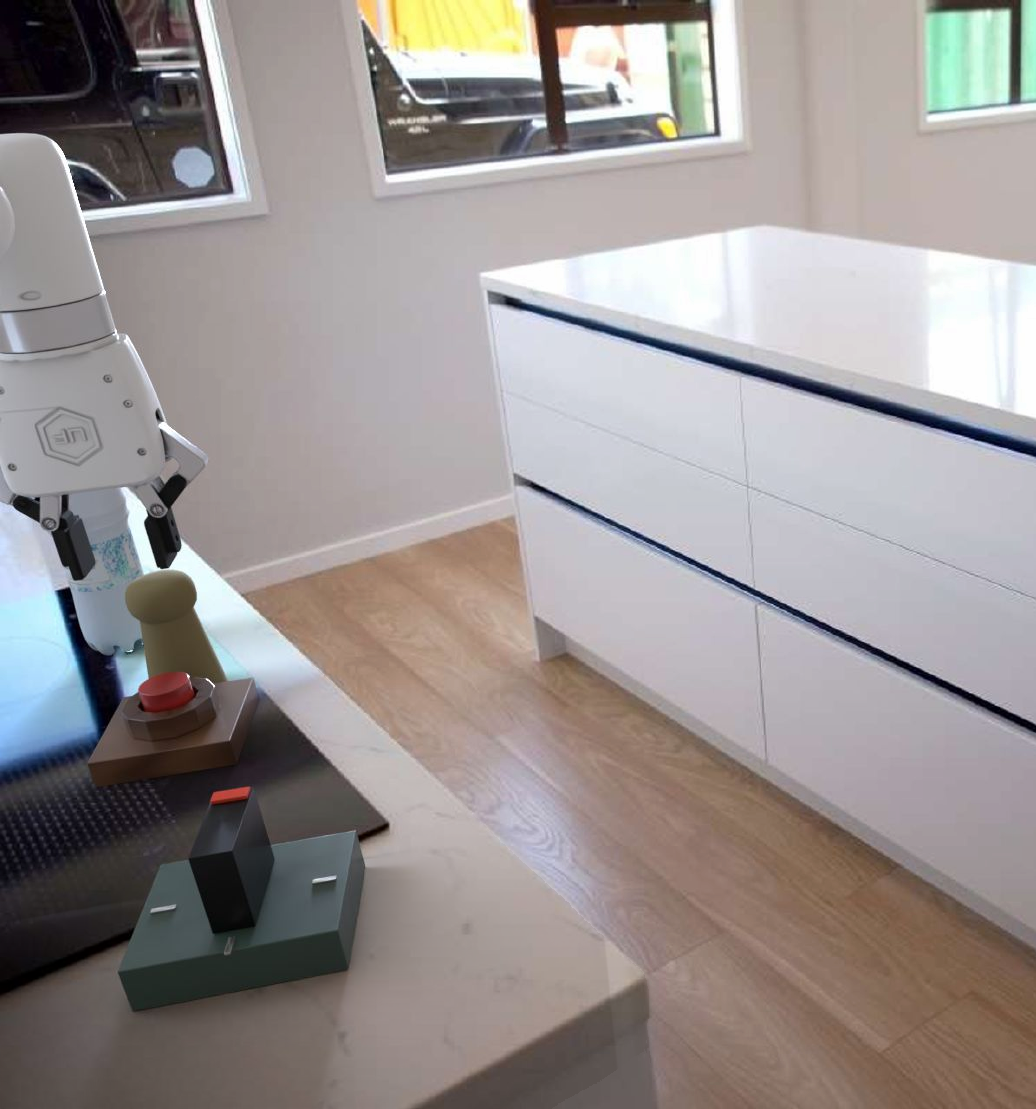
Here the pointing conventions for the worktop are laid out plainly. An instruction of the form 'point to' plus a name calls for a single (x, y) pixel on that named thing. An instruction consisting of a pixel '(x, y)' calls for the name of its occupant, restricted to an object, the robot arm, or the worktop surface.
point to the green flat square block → (255, 952)
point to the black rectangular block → (232, 860)
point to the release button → (166, 692)
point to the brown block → (176, 734)
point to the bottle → (106, 572)
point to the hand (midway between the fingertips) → (126, 565)
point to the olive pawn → (172, 626)
